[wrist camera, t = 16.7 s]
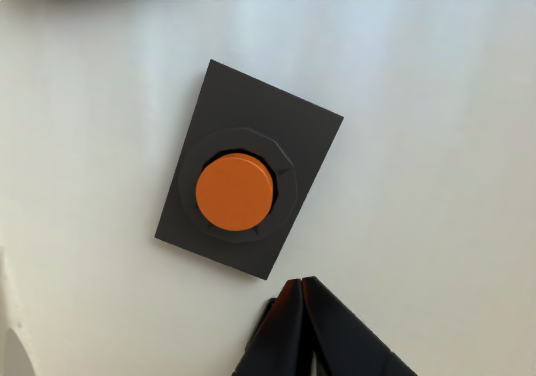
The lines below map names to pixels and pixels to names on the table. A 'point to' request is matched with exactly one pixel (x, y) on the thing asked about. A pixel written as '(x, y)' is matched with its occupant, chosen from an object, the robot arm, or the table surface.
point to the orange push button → (235, 192)
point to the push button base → (258, 146)
